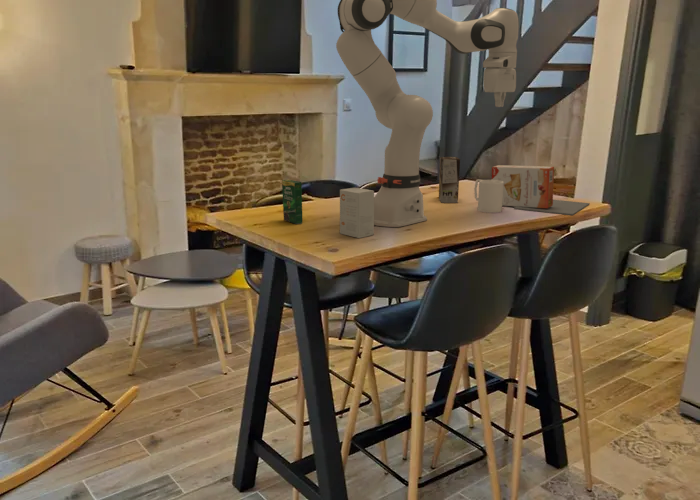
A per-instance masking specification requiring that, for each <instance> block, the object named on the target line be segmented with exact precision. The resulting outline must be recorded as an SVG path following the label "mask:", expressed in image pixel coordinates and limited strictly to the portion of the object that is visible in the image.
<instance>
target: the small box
mask: <svg viewBox="0 0 700 500" xmlns="http://www.w3.org/2000/svg"><path fill="white" fill-rule="evenodd" d="M374 197H375V190H371V189H366V188H360V187H350V188H342V189H339V234H341V235H345V236H350V237H353V238H356V239H360V238H365V237H370V236H374V235H375V234H374V233H375V231H374V230H375V225H374Z"/></svg>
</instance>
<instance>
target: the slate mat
mask: <svg viewBox="0 0 700 500" xmlns="http://www.w3.org/2000/svg"><path fill="white" fill-rule="evenodd" d="M589 205H591V204H590V202H580V201H573V200H564V199H563V200H561V199H553V206H551V207H549V208H532V207H518V206H513V210H521V211H527V212H528V211H529V212H538V213H547V214H548V213H549V214H555V215H556V214H557V215H565V216H566V215H567V216H574V215H576V214H577V213H578V212H580V211H582V210H583V209H585V208H586V207H588V206H589Z"/></svg>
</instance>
